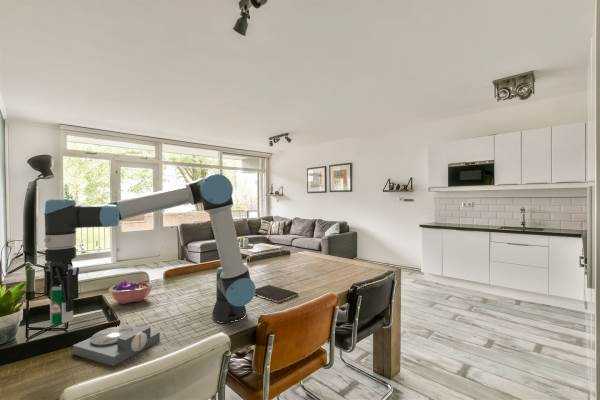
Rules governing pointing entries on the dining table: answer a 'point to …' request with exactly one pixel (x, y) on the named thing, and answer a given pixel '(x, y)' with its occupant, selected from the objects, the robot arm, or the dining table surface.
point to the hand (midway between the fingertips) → (61, 319)
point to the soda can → (56, 305)
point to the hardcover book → (275, 293)
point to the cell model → (130, 291)
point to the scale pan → (109, 335)
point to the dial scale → (118, 346)
